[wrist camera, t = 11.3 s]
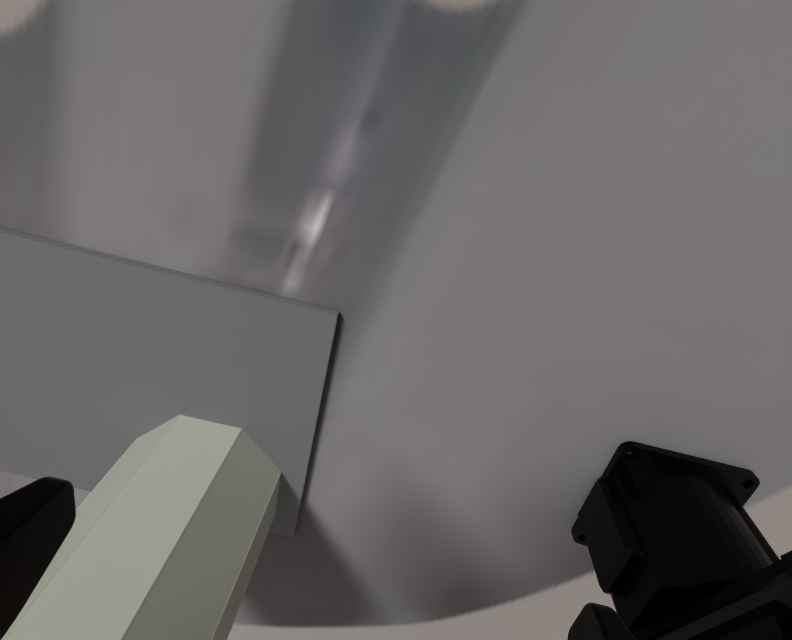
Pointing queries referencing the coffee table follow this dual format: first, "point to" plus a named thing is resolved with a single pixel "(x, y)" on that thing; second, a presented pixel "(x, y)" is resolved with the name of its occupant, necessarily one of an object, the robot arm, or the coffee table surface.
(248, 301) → the slate mat
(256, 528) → the pale green faceted cylinder
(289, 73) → the coffee table surface
